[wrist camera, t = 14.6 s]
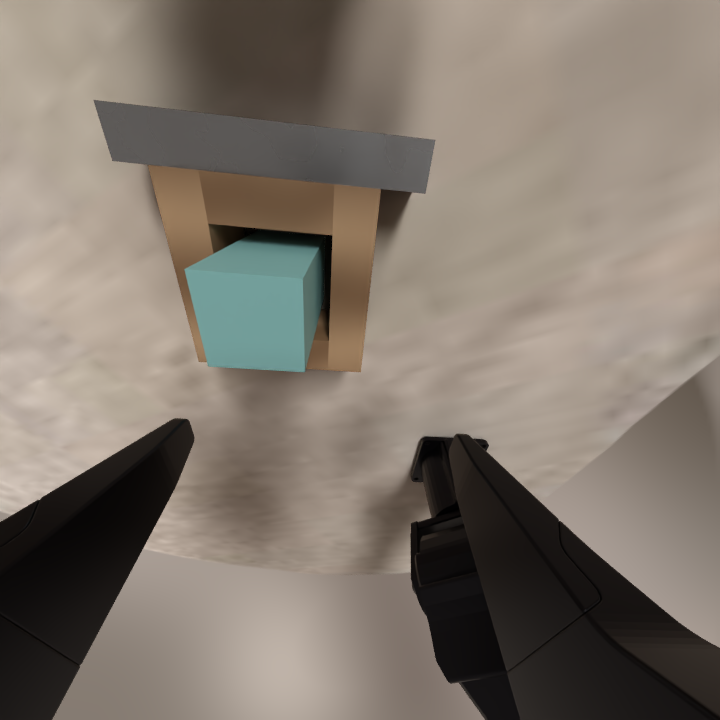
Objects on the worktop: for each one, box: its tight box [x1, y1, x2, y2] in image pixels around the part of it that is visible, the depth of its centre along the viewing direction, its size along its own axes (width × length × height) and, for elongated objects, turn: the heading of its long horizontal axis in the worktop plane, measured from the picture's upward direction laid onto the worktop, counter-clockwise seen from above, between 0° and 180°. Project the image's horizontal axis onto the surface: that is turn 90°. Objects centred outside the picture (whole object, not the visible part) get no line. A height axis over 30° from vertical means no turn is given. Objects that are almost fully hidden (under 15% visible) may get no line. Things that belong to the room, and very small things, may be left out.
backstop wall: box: [94, 100, 435, 194], centre depth 14 cm, size 2×14×4 cm, turn 85°
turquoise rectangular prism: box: [184, 230, 325, 372], centre depth 15 cm, size 4×4×9 cm
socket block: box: [148, 165, 381, 372], centre depth 16 cm, size 10×10×4 cm
